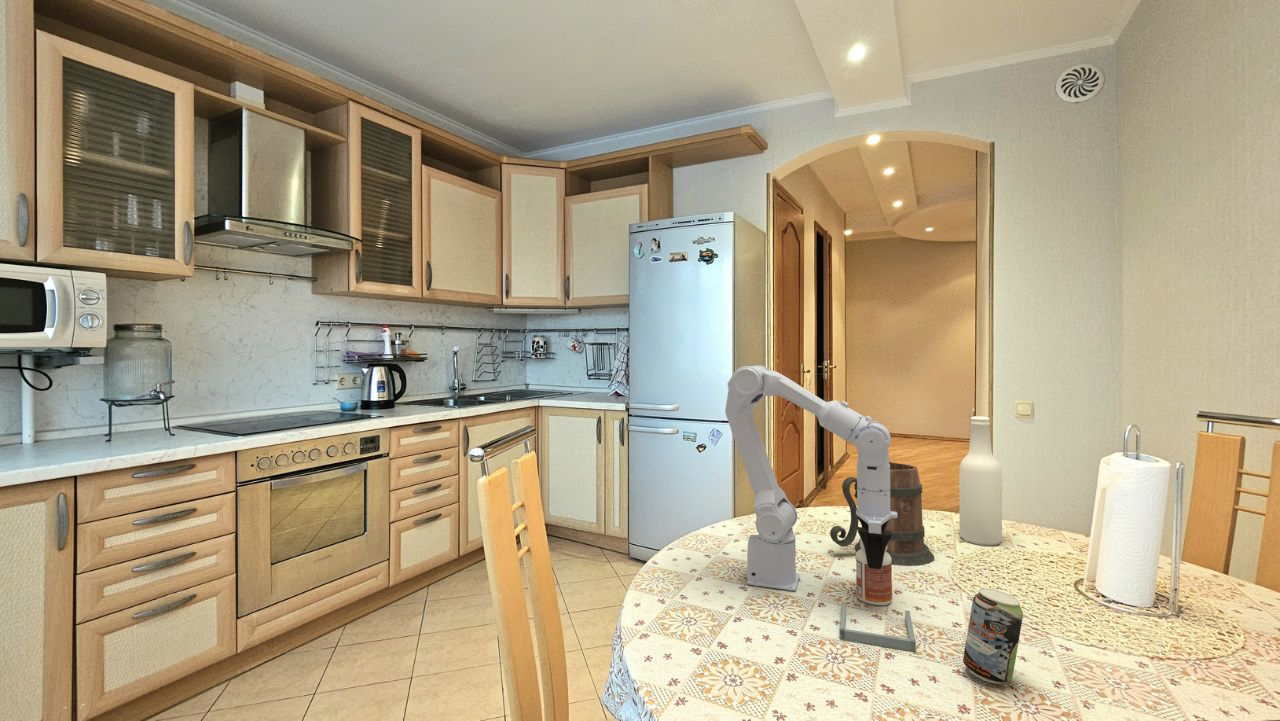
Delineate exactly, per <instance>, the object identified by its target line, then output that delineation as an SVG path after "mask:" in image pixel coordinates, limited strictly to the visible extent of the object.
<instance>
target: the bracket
mask: <svg viewBox="0 0 1280 721" xmlns="http://www.w3.org/2000/svg"><path fill="white" fill-rule="evenodd" d="M846 614H847V601H844V600H843V601H841V611H840V626H839V639H840V640H844V641H848V642H855V643H860V644H865V645H866V644H867V645H870V646H871V645H873V646H879V647H883V648H891V649H896V650H903V651H907V652H915V653H916V652H917V647H916V646H917V640H916V637H915V631H914V627H913V621H912V616H911V612H910V610H904V619H905V626H906V631H907V637H908V638H905V637H899V636H891V635H886V634H879V633H872V632H867V631H860V630H855V629H849V628H846V621H847V618H846V617H847V615H846Z"/></svg>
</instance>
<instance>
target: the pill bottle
mask: <svg viewBox="0 0 1280 721" xmlns="http://www.w3.org/2000/svg"><path fill="white" fill-rule="evenodd" d="M859 540H860V547H861V548H862V549H860V550H859V551H858V552H856V554H855V571H856V572H855V574H856V577H855V578H856V585H855V586H856V596H857V598H858V599H859V600H860V601H861V602H863V603H866V604H868V605H873V606H887V605H889V604H891V602H892V600H893V576H892V571H893V570H892V568H893V567H892V566H893V565H892V561H891V556H890V555H889V554H888V553H887V552H886V550H887V546H886V549H885V553H884V558H883V563H882V567H881V569H875V568H869V567H868V563H867V559H866V553H865V548H864V545H863V542H862V539H860V538H859Z"/></svg>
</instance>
